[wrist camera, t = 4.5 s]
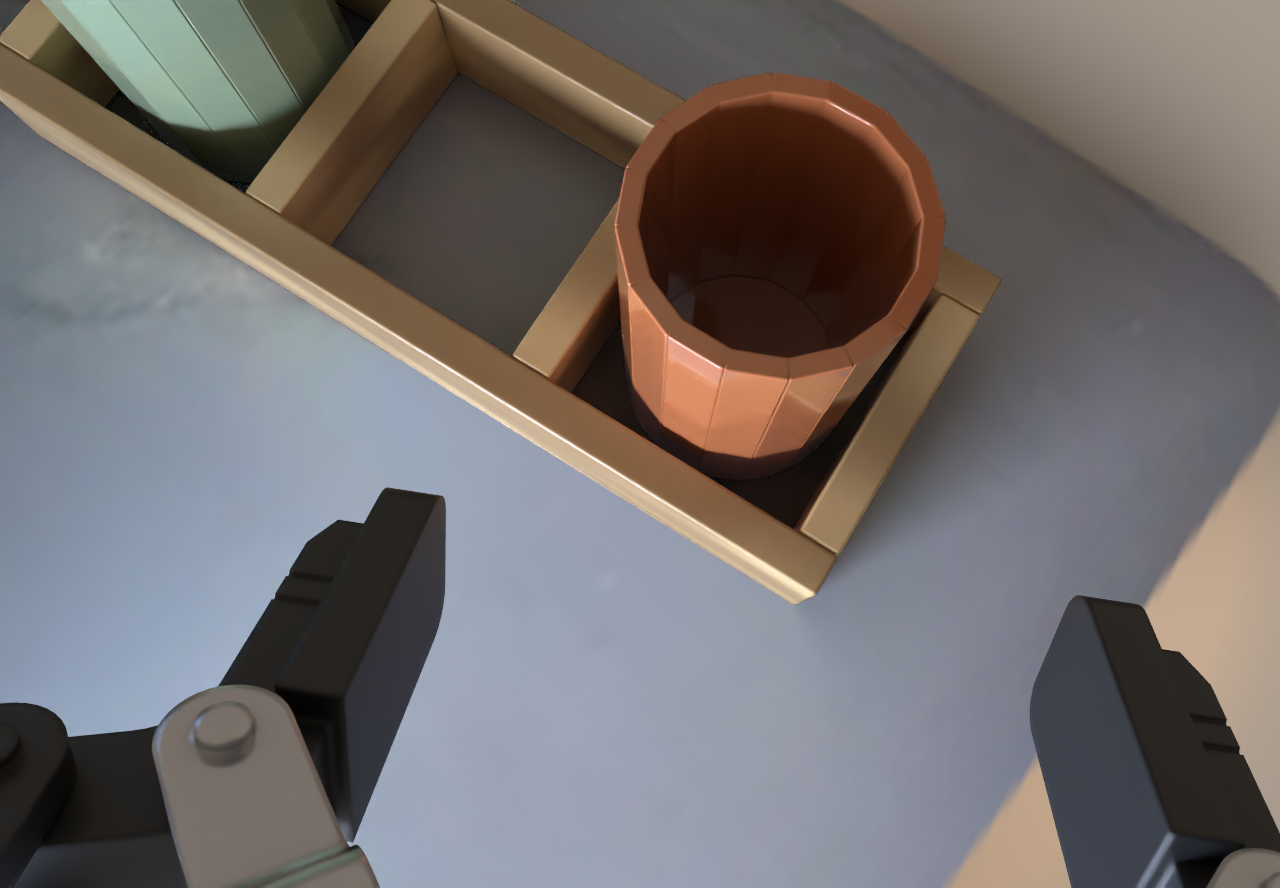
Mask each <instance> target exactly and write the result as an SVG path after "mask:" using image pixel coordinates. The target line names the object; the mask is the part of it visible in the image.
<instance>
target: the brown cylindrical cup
mask: <svg viewBox="0 0 1280 888" xmlns="http://www.w3.org/2000/svg"><path fill="white" fill-rule="evenodd" d="M945 222H946V220H945V213H944V210H943V206H942V203H941V200H940V197H939V193H938V190H937V187H936V184H935V181H934V177H933V174H932V171H931V168H930V164H929V161H928V160H927V158H926V156H925V155H924V154H923V153H922V151H921V150H920V149H919V148H918V147H917V145H916V144H915V143H914V142H913V141H912V139H911V138H910V137H909V136H908V135H907V133H906V132H905V131H904V130H903V129H902V127H901V126H900V125H899V124H898V123H897V121H896V120H895V119H894V118H893V117H892V115H891V114H890V113H887V111H886V110H884V109H883V108H881V107H879V106H877V105H875V104H874V103H872V102H870V101H868V100H866V99H864V98H863V97H861V96H859V95H857V94H855V93H854V92H852V91H850V90H848V89H846V88H845V87H843V86H841V85H839V84H837V83H835V82H834V83H832V81H828V80H821V79H814V78H808V77H801V76H794V75H788V74H781V73H772V74H771V73H764V74H760V75H755V76H750V77H745V78H741V79H736V80H731V81H726V82H721V83H717V84H713V85H711V86H708V87H706V88H705V89H703V90H702V91H700V92H699V93H697V94H696V95H694V96H693V97H691V98H689V99H688V100H686V101H685V102H683V103H682V104H680V105H679V106H677V107H676V108H674V109H673V110H671V111H669V112H668V113H666V114H665V115H663V116H662V117H661V118H660V119H659V120H658V121H657V122H656V123H655V125H654V126H653V128H652V129H651V131H650V132H649V134H648V135H647V137H646V138H645V140H644V141H643V142H642V144H641V145H640V147H639V148H638V150H637V151H636V153H635V154H634V156H633V157H632V159H631V160H630V161H629V163H628V164H627V166H626V169H625V171H624V176H623V181H622V187H621V192H620V197H619V203H618V208H617V213H616V218H615V224H614V225H615V242H616V256H617V271H618V285H619V299H620V313H621V327H622V341H623V355H624V369H625V375H626V379H627V384H628V390H629V396H630V399H631V403H632V406H633V409H634V411H635V414H636V416H637V418H638V420H639V422H640V424H641V425H642V427H643V429H644V430H645V432H646V433H647V435H648V436H649V437H650V438H651V440H652V441H653V442H654V443H655V444H656V445H657V446H658V447H660V448H662V449H663V450H665V451H666V452H668V453H670V454H671V455H673V456H675V457H676V458H678V459H680V460H681V461H683V462H684V463H686V464H688V465H689V466H691V467H693V468H694V469H696V470H697V471H699V472H701V473H702V474H704V475H707V476H711V477H715V478H720V479H730V480H749V479H755V478H762V477H766V476H769V475H772V474H776V473H778V472H781V471H783V470H785V469H787V468H790V467H792V466H793V465H795V464H796V463H798V462H800V461H801V460H803V459H804V458H805V457H806V456H808V455H809V454H810V453H811V452H813V451H814V450H815V449H816V448H817V447H818V446H819V445H821V444H822V443H823V442H824V441H825V440H826V438H827V437H828V436H829V434H830V433H831V432H832V430H833V429H834V428H835V426H836V425H837V424H838V422H839V421H840V420H841V418H842V417H843V415H844V414H845V413H846V411H847V410H848V409H849V407H850V406H851V405H852V403H853V402H854V401H855V399H856V398H857V397H858V395H859V394H860V393H861V391H862V390H863V389H864V387H865V386H866V385H867V383H868V382H869V381H870V379H871V378H872V377H873V375H874V374H875V372H876V371H877V370H878V368H879V367H880V366H881V364H882V363H883V362H884V360H885V359H886V358H887V356H888V355H889V354H890V352H891V351H892V350H893V348H894V347H895V346H896V344H897V343H898V342H899V340H900V339H901V338H902V336H903V335H904V334H905V332H906V331H907V329H908V328H909V326H910V325H911V323H912V321H913V320H914V318H915V317H916V315H917V313H918V312H919V310H920V308H921V307H922V305H923V303H924V302H925V300H926V298H927V297H928V295H929V293H930V292H931V290H932V288H933V287H934V285H935V283H936V282H937V279H938V276H939V273H940V264H941V256H942V247H943V239H944V230H945Z"/></svg>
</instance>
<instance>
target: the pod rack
mask: <svg viewBox="0 0 1280 888" xmlns="http://www.w3.org/2000/svg"><path fill="white" fill-rule="evenodd" d="M335 1H336V2H338V3H340V4H341V5H343V6H345V7H347V8H348V9H350V10H352V11H353V12H355V13H357V14H359V15H360V16H362V17H364V18H366V19H367V20H369V21H371V22H372V23H374V24H373V25H372V26H371V27H370V29H369V30H368V31H367V33H366V34H365V35H364V37H363V38H362V39H361V41H360V42H359V43H358V45H357V46H356V47H355V48H354V50H353V51H352V52H351V54H350V55H349V56H348V58H347V59H346V60H345V62H344V63H343V64H342V66H341V67H340V68H339V69H338V71H337V72H336V73H335V75H334V76H333V77H332V79H331V80H330V81H329V83H328V84H327V85H326V86H325V88H324V89H323V90H322V92H321V93H320V94H319V96H318V97H317V98H316V100H315V101H314V102H313V104H312V105H311V106H310V107H309V109H308V110H307V111H306V113H305V114H304V115H303V117H302V118H301V119H300V121H299V122H298V123H297V125H296V126H295V127H294V128H293V130H292V131H291V132H290V134H289V135H288V136H287V138H286V139H285V140H284V142H283V143H282V144H281V145H280V147H279V148H278V149H277V151H276V152H275V153H274V155H273V156H272V157H271V159H270V160H269V161H268V163H267V164H266V165H265V166H264V168H263V169H262V170H261V172H260V173H259V174H258V176H257V177H256V178H255V180H254V181H253V182H252V184H251V185H250V186H249V187H248V189H247V190H246V194H245V193H244V192H242V191H240V190H239V189H237V188H235V187H234V186H232V185H231V184H229V183H227V182H226V181H224V180H222V179H221V178H219V177H217V176H216V175H214V174H213V173H211V172H209V171H208V170H206V169H204V168H203V167H201V166H200V165H198V164H196V163H195V162H193V161H191V160H190V159H188V158H186V157H185V156H183V155H182V154H180V153H178V152H177V151H175V150H173V149H172V148H170V147H168V146H167V145H165V144H164V143H162V142H160V141H159V140H157V139H155V138H154V137H152V136H151V135H149V134H147V133H146V132H144V131H142V130H141V129H139V128H137V127H136V126H134V125H133V124H131V123H129V122H128V121H126V120H124V119H123V118H121V117H120V116H118V115H116V114H115V113H113V112H111V111H110V110H108V109H106V108H105V107H106V106H107V104H108V103H109V102H110V101H111V99H112V98H113V97H114V96H115V94H116V93H117V92H118V91H119V87H118V86H117V85H116V84H115V83H114V82H113V81H112V80H111V78H110V77H109V76H108V75H107V74H106V73H105V72H104V71H103V69H102V68H101V67H100V66H99V65H98V64H97V63H96V62H95V60H94V59H93V58H92V57H91V56H90V55H89V54H88V53H87V51H86V50H85V49H84V48H83V47H82V46H81V45H80V44H79V43H78V41H77V40H76V39H75V38H74V37H73V36H72V35H71V34H70V32H69V31H68V30H67V29H66V28H65V27H64V26H63V25H62V23H61V22H60V21H59V20H58V19H57V18H56V17H55V16H54V14H53V13H52V12H51V11H50V10H49V9H48V8H47V7H46V5H45V4H44V3H43V2H42V1H41V0H30V1H29V2H28V3H27V5H26V6H25V7H24V8H23V9H22V10H21V12H20V13H19V14H18V15H17V16H16V18H15V19H14V20H13V21H12V22H11V24H10V25H9V26H8V27H7V28H6V29H5V31H4V32H3V33H2V34H1V35H0V100H1V101H2V102H3V103H4V104H5V105H6V106H7V107H8V108H10V109H11V110H12V111H13V112H14V113H15V114H16V115H17V116H18V117H20V118H21V119H22V120H23V121H24V122H25V123H26V124H27V125H28V126H30V127H31V128H32V129H33V130H34V131H35V132H36V133H37V134H38V135H40V136H41V137H43V138H44V139H46V140H48V141H49V142H51V143H52V144H54V145H56V146H57V147H59V148H60V149H62V150H64V151H65V152H67V153H69V154H70V155H72V156H73V157H75V158H77V159H78V160H80V161H81V162H83V163H85V164H86V165H88V166H89V167H91V168H93V169H94V170H96V171H97V172H99V173H101V174H102V175H104V176H105V177H107V178H109V179H110V180H112V181H114V182H115V183H117V184H118V185H120V186H122V187H123V188H125V189H126V190H128V191H130V192H131V193H133V194H134V195H136V196H138V197H139V198H141V199H142V200H144V201H146V202H147V203H149V204H150V205H152V206H154V207H155V208H157V209H159V210H160V211H162V212H163V213H165V214H167V215H168V216H170V217H171V218H173V219H175V220H176V221H178V222H179V223H181V224H183V225H184V226H186V227H187V228H189V229H191V230H192V231H194V232H195V233H197V234H199V235H200V236H202V237H204V238H205V239H207V240H208V241H210V242H212V243H213V244H215V245H216V246H218V247H220V248H221V249H223V250H224V251H226V252H228V253H229V254H231V255H232V256H234V257H236V258H237V259H239V260H240V261H242V262H244V263H245V264H247V265H249V266H250V267H252V268H253V269H255V270H257V271H258V272H260V273H261V274H263V275H265V276H266V277H268V278H269V279H271V280H273V281H274V282H276V283H277V284H279V285H281V286H282V287H284V288H285V289H287V290H289V291H290V292H292V293H294V294H295V295H297V296H298V297H300V298H302V299H303V300H305V301H306V302H308V303H310V304H311V305H313V306H314V307H316V308H318V309H319V310H321V311H322V312H324V313H326V314H327V315H329V316H330V317H332V318H334V319H335V320H337V321H339V322H340V323H342V324H343V325H345V326H347V327H348V328H350V329H351V330H353V331H355V332H356V333H358V334H359V335H361V336H363V337H364V338H366V339H367V340H369V341H371V342H372V343H374V344H375V345H377V346H379V347H380V348H382V349H384V350H385V351H387V352H388V353H390V354H392V355H393V356H395V357H396V358H398V359H400V360H401V361H403V362H404V363H406V364H408V365H409V366H411V367H412V368H414V369H416V370H417V371H419V372H420V373H422V374H424V375H425V376H427V377H429V378H430V379H432V380H433V381H435V382H437V383H438V384H440V385H441V386H443V387H445V388H446V389H448V390H449V391H451V392H453V393H454V394H456V395H457V396H459V397H461V398H462V399H464V400H465V401H467V402H469V403H470V404H472V405H474V406H475V407H477V408H478V409H480V410H482V411H483V412H485V413H486V414H488V415H490V416H491V417H493V418H494V419H496V420H498V421H499V422H501V423H502V424H504V425H506V426H507V427H509V428H510V429H512V430H514V431H515V432H517V433H519V434H520V435H522V436H523V437H525V438H527V439H528V440H530V441H531V442H533V443H535V444H536V445H538V446H539V447H541V448H543V449H544V450H546V451H547V452H549V453H551V454H552V455H554V456H555V457H557V458H559V459H560V460H562V461H564V462H565V463H567V464H568V465H570V466H572V467H573V468H575V469H576V470H578V471H580V472H581V473H583V474H584V475H586V476H588V477H589V478H591V479H592V480H594V481H596V482H597V483H599V484H600V485H602V486H604V487H605V488H607V489H609V490H610V491H612V492H613V493H615V494H617V495H618V496H620V497H621V498H623V499H625V500H626V501H628V502H629V503H631V504H633V505H634V506H636V507H637V508H639V509H641V510H642V511H644V512H645V513H647V514H649V515H650V516H652V517H654V518H655V519H657V520H658V521H660V522H662V523H663V524H665V525H666V526H668V527H670V528H671V529H673V530H674V531H676V532H678V533H679V534H681V535H682V536H684V537H686V538H687V539H689V540H690V541H692V542H694V543H695V544H697V545H699V546H700V547H702V548H703V549H705V550H707V551H708V552H710V553H711V554H713V555H715V556H716V557H718V558H719V559H721V560H723V561H724V562H726V563H727V564H729V565H731V566H732V567H734V568H735V569H737V570H739V571H740V572H742V573H744V574H745V575H747V576H748V577H750V578H752V579H753V580H755V581H756V582H758V583H760V584H761V585H763V586H764V587H766V588H768V589H769V590H771V591H772V592H774V593H776V594H777V595H779V596H780V597H782V598H784V599H785V600H787V601H789V602H790V603H792V604H794V605H797V604H799V603H801V602H803V601H804V600H806V599H808V598H810V597H812V596H814V595H816V594H817V593H818V591H819V589H820V588H821V586H822V584H823V583H824V581H825V579H826V578H827V576H828V574H829V572H830V571H831V569H832V567H833V566H834V564H835V562H836V560H837V557H836V556H837V555H839V554H840V553H841V552H842V550H843V549H844V547H845V545H846V544H847V542H848V540H849V539H850V537H851V535H852V533H853V532H854V530H855V528H856V527H857V525H858V523H859V522H860V520H861V518H862V517H863V515H864V513H865V511H866V510H867V508H868V506H869V505H870V503H871V501H872V500H873V498H874V496H875V495H876V493H877V491H878V489H879V488H880V486H881V484H882V483H883V481H884V479H885V478H886V476H887V474H888V473H889V471H890V469H891V467H892V466H893V464H894V462H895V461H896V459H897V457H898V456H899V454H900V452H901V451H902V449H903V447H904V445H905V444H906V442H907V440H908V439H909V437H910V435H911V434H912V432H913V430H914V428H915V427H916V425H917V423H918V422H919V420H920V418H921V417H922V415H923V413H924V412H925V410H926V408H927V406H928V405H929V403H930V401H931V400H932V398H933V396H934V395H935V393H936V391H937V390H938V388H939V386H940V384H941V383H942V381H943V379H944V378H945V376H946V374H947V373H948V371H949V369H950V368H951V366H952V364H953V362H954V361H955V359H956V357H957V356H958V354H959V352H960V351H961V349H962V347H963V346H964V344H965V342H966V340H967V339H968V337H969V335H970V334H971V332H972V330H973V329H974V327H975V325H976V324H977V322H978V320H979V317H980V316H981V315H982V313H983V312H984V310H985V309H986V307H987V305H988V303H989V302H990V300H991V298H992V297H993V295H994V293H995V292H996V290H997V288H998V287H999V285H1000V283H1001V279H1000V278H999V277H997V276H995V275H994V274H992V273H990V272H988V271H986V270H985V269H983V268H981V267H979V266H978V265H976V264H974V263H972V262H971V261H969V260H967V259H965V258H963V257H962V256H960V255H958V254H956V253H955V252H953V251H951V250H949V249H948V248H946V247H944V246H943V247H942V256H941V264H940V273H939V276H938V279H937V282H936V283H935V285H934V287H933V288H932V290H931V292H930V293H929V295H928V297H927V298H926V300H925V302H924V303H923V305H922V307H921V308H920V310H919V312H918V313H917V315H916V317H915V318H914V320H913V321H912V323H911V325H910V326H909V328H908V329H907V332H908V333H910V336H909V337H908V339H907V340H906V342H905V344H904V345H903V347H902V349H901V350H900V352H899V354H898V355H897V357H896V359H895V360H894V362H893V364H892V365H891V367H890V369H889V370H888V372H887V374H886V375H885V377H884V379H883V380H882V382H881V384H880V385H879V387H878V389H877V390H876V392H875V393H874V395H873V397H872V398H871V400H870V402H869V403H868V405H867V407H866V408H865V410H864V412H863V413H862V415H861V417H860V418H859V420H858V422H857V423H856V425H855V427H854V428H853V430H852V432H851V433H850V435H849V437H848V438H847V440H846V442H845V443H844V445H843V447H842V448H841V450H840V452H839V453H838V455H837V456H836V458H835V460H834V461H833V463H832V465H831V466H830V468H829V470H828V471H827V473H826V475H825V476H824V478H823V480H822V481H821V483H820V485H819V486H818V488H817V490H816V491H815V493H814V495H813V496H812V498H811V500H810V501H809V503H808V505H807V506H806V508H805V510H804V511H803V513H802V515H801V516H800V518H799V520H798V521H797V523H796V524H795V526H794V528H793V529H792V528H791V527H789V526H787V525H786V524H784V523H782V522H781V521H779V520H777V519H776V518H774V517H773V516H771V515H769V514H768V513H766V512H764V511H763V510H761V509H760V508H758V507H756V506H755V505H753V504H751V503H750V502H748V501H746V500H745V499H743V498H742V497H740V496H738V495H737V494H735V493H733V492H732V491H730V490H728V489H727V488H725V487H724V486H722V485H720V484H719V483H717V482H715V481H714V480H712V479H711V478H709V477H707V476H706V475H704V474H702V473H701V472H699V471H697V470H696V469H694V468H693V467H691V466H689V465H688V464H686V463H684V462H683V461H681V460H680V459H678V458H676V457H675V456H673V455H671V454H670V453H668V452H666V451H665V450H663V449H662V448H660V447H658V446H657V445H655V444H653V443H652V442H650V441H648V440H647V439H645V438H644V437H642V436H640V435H639V434H637V433H635V432H634V431H632V430H631V429H629V428H627V427H626V426H624V425H622V424H621V423H619V422H617V421H616V420H614V419H613V418H611V417H609V416H608V415H606V414H604V413H603V412H601V411H600V410H598V409H596V408H595V407H593V406H591V405H590V404H588V403H586V402H585V401H583V400H582V399H580V398H578V397H577V396H575V395H573V394H572V392H573V390H574V389H575V387H576V386H577V384H578V383H579V381H580V380H581V378H582V377H583V375H584V374H585V372H586V371H587V369H588V368H589V366H590V365H591V363H592V362H593V360H594V359H595V357H596V356H597V354H598V353H599V351H600V350H601V348H602V347H603V345H604V344H605V342H606V341H607V339H608V338H609V336H610V335H611V333H612V332H613V330H614V329H615V327H616V326H617V324H618V323H619V321H620V320H621V313H620V299H619V285H618V271H617V256H616V242H615V225H614V224H615V218H616V213H617V208H618V203H619V199H618V200H617V202H616V203H615V205H614V206H613V208H612V209H611V211H610V212H609V214H608V215H607V216H606V218H605V219H604V221H603V222H602V224H601V225H600V227H599V228H598V230H597V231H596V233H595V234H594V236H593V237H592V238H591V240H590V241H589V243H588V244H587V246H586V247H585V249H584V250H583V252H582V253H581V255H580V256H579V258H578V259H577V260H576V262H575V263H574V265H573V266H572V268H571V269H570V271H569V272H568V274H567V275H566V277H565V278H564V279H563V281H562V282H561V284H560V285H559V287H558V288H557V290H556V291H555V293H554V294H553V296H552V297H551V299H550V300H549V301H548V303H547V304H546V306H545V307H544V309H543V310H542V312H541V313H540V315H539V316H538V318H537V319H536V321H535V322H534V323H533V325H532V326H531V328H530V329H529V331H528V332H527V334H526V335H525V337H524V338H523V340H522V341H521V343H520V344H519V345H518V347H517V348H516V350H515V351H514V353H513V357H511V356H510V355H508V354H506V353H505V352H503V351H502V350H500V349H498V348H497V347H495V346H493V345H492V344H490V343H488V342H487V341H485V340H484V339H482V338H480V337H479V336H477V335H475V334H474V333H472V332H471V331H469V330H467V329H466V328H464V327H462V326H461V325H459V324H457V323H456V322H454V321H453V320H451V319H449V318H448V317H446V316H444V315H443V314H441V313H440V312H438V311H436V310H435V309H433V308H431V307H430V306H428V305H426V304H425V303H423V302H422V301H420V300H418V299H417V298H415V297H413V296H412V295H410V294H408V293H407V292H405V291H404V290H402V289H400V288H399V287H397V286H395V285H394V284H392V283H391V282H389V281H387V280H386V279H384V278H382V277H381V276H379V275H377V274H376V273H374V272H373V271H371V270H369V269H368V268H366V267H364V266H363V265H361V264H360V263H358V262H356V261H355V260H353V259H351V258H350V257H348V256H346V255H345V254H343V253H342V252H340V251H338V250H337V249H335V248H333V247H332V246H331V245H332V243H333V242H334V241H335V239H336V238H337V237H338V235H339V234H340V232H341V231H342V230H343V228H344V227H345V226H346V224H347V223H348V222H349V220H350V219H351V217H352V216H353V215H354V213H355V212H356V211H357V209H358V208H359V207H360V205H361V204H362V203H363V201H364V200H365V198H366V197H367V196H368V194H369V193H370V192H371V190H372V189H373V188H374V186H375V185H376V184H377V182H378V181H379V179H380V178H381V177H382V175H383V174H384V173H385V171H386V170H387V169H388V167H389V166H390V165H391V163H392V162H393V160H394V159H395V158H396V156H397V155H398V154H399V152H400V151H401V150H402V148H403V147H404V145H405V144H406V143H407V141H408V140H409V139H410V137H411V136H412V135H413V133H414V132H415V131H416V129H417V128H418V126H419V125H420V124H421V122H422V121H423V120H424V118H425V117H426V116H427V114H428V113H429V112H430V110H431V109H432V107H433V106H434V105H435V103H436V102H437V101H438V99H439V98H440V97H441V95H442V94H443V92H444V91H445V90H446V88H447V87H448V86H449V84H450V83H451V82H452V80H453V79H454V78H455V76H456V75H457V72H459V73H461V74H462V75H464V76H466V77H468V78H469V79H471V80H473V81H474V82H476V83H478V84H480V85H481V86H483V87H485V88H487V89H488V90H490V91H492V92H493V93H495V94H497V95H499V96H500V97H502V98H504V99H506V100H507V101H509V102H511V103H512V104H514V105H516V106H518V107H519V108H521V109H523V110H525V111H526V112H528V113H530V114H531V115H533V116H535V117H537V118H538V119H540V120H542V121H544V122H545V123H547V124H549V125H550V126H552V127H554V128H556V129H557V130H559V131H561V132H563V133H564V134H566V135H568V136H569V137H571V138H573V139H575V140H576V141H578V142H580V143H582V144H583V145H585V146H587V147H589V148H590V149H592V150H594V151H595V152H597V153H599V154H601V155H602V156H604V157H606V158H608V159H609V160H611V161H613V162H614V163H616V164H618V165H620V166H621V167H623V168H625V169H626V166H627V164H628V163H629V161H630V160H631V159H632V157H633V156H634V154H635V153H636V151H637V150H638V148H639V147H640V145H641V144H642V142H643V141H644V140H645V138H646V137H647V135H648V134H649V132H650V131H651V129H652V128H653V126H654V125H655V123H656V122H657V121H658V120H659V119H660V118H661V117H662V116H663V115H665V114H666V113H668V112H669V111H671V110H673V109H674V108H676V107H677V106H679V105H680V104H682V103H683V102H685V101H686V100H684V99H682V98H680V97H679V96H677V95H675V94H673V93H671V92H670V91H668V90H666V89H664V88H663V87H661V86H659V85H657V84H655V83H654V82H652V81H650V80H648V79H647V78H645V77H643V76H641V75H640V74H638V73H636V72H634V71H632V70H631V69H629V68H627V67H625V66H624V65H622V64H620V63H618V62H617V61H615V60H613V59H611V58H609V57H608V56H606V55H604V54H602V53H601V52H599V51H597V50H595V49H594V48H592V47H590V46H588V45H586V44H585V43H583V42H581V41H579V40H578V39H576V38H574V37H572V36H571V35H569V34H567V33H565V32H563V31H562V30H560V29H558V28H556V27H555V26H553V25H551V24H549V23H548V22H546V21H544V20H542V19H540V18H539V17H537V16H535V15H533V14H532V13H530V12H528V11H526V10H525V9H523V8H521V7H519V6H517V5H516V4H514V3H512V2H510V1H509V0H335Z"/></svg>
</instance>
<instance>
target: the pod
mask: <svg viewBox="0 0 1280 888" xmlns="http://www.w3.org/2000/svg"><path fill="white" fill-rule="evenodd" d="M41 1H42V2H43V3H44V4H45V5H46V7H47V8H48V9H49V10H50V11H51V12H52V13H53V14H54V16H55V17H56V18H57V19H58V20H59V21H60V22H61V23H62V25H63V26H64V27H65V28H66V29H67V30H68V31H69V32H70V34H71V35H72V36H73V37H74V38H75V39H76V40H77V41H78V43H79V44H80V45H81V46H82V47H83V48H84V49H85V50H86V51H87V53H88V54H89V55H90V56H91V57H92V58H93V59H94V60H95V62H96V63H97V64H98V65H99V66H100V67H101V68H102V69H103V71H104V72H105V73H106V74H107V75H108V76H109V77H110V78H111V80H112V81H113V82H114V83H115V84H116V85H117V86H118V87H119V89H120V90H121V91H122V92H123V93H124V94H125V95H126V96H127V98H128V99H129V100H130V101H131V102H132V103H133V104H134V105H135V107H136V108H137V109H138V110H139V111H140V112H141V113H142V114H143V115H144V117H145V118H146V119H147V120H148V121H149V122H150V123H151V124H152V126H153V127H154V128H155V129H156V130H157V131H158V132H159V133H160V135H161V136H162V137H163V138H164V139H165V140H166V141H167V142H168V144H169V145H170V146H171V147H172V148H173V149H175V150H177V151H178V152H179V153H180V154H182V155H183V156H185V157H186V158H188V159H190V160H191V161H193V162H195V163H196V164H198V165H200V166H201V167H203V168H204V169H206V170H208V171H209V172H211V173H213V174H214V175H216V176H217V177H219V178H221V179H224V180H228V181H233V182H240V183H252V182H253V181H254V180H255V178H256V177H257V176H258V174H259V173H260V172H261V170H262V169H263V168H264V166H265V165H266V164H267V163H268V161H269V160H270V159H271V157H272V156H273V155H274V153H275V152H276V151H277V149H278V148H279V147H280V145H281V144H282V143H283V142H284V140H285V139H286V138H287V136H288V135H289V134H290V132H291V131H292V130H293V128H294V127H295V126H296V125H297V123H298V122H299V121H300V119H301V118H302V117H303V115H304V114H305V113H306V111H307V110H308V109H309V107H310V106H311V105H312V104H313V102H314V101H315V100H316V98H317V97H318V96H319V94H320V93H321V92H322V90H323V89H324V88H325V86H326V85H327V84H328V83H329V81H330V80H331V79H332V77H333V76H334V75H335V73H336V72H337V71H338V69H339V68H340V67H341V66H342V64H343V63H344V62H345V60H346V59H347V58H348V56H349V55H350V54H351V52H352V51H353V50H354V48H355V47H354V43H353V38H352V36H351V34H350V32H349V29H348V27H347V25H346V23H345V21H344V18H343V16H342V14H341V12H340V10H339V7H338V5H337V3H336V1H335V0H41Z"/></svg>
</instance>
